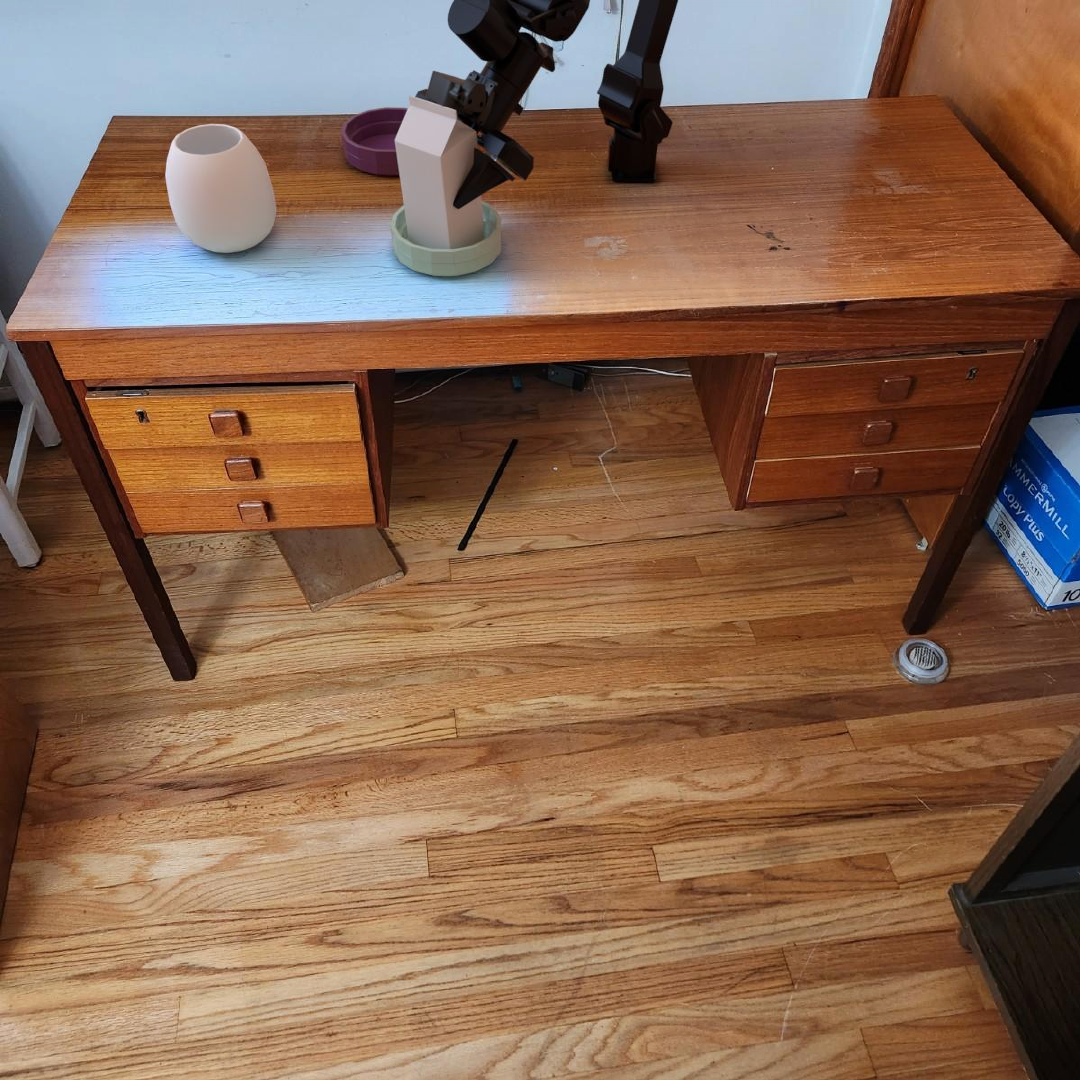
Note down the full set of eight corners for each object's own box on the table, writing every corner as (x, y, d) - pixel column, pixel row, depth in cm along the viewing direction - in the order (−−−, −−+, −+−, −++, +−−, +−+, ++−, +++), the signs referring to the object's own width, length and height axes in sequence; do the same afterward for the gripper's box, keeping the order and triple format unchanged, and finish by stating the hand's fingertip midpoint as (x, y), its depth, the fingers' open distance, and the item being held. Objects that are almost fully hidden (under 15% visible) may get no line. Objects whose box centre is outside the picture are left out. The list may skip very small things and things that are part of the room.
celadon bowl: (502, 222, 132) (502, 195, 129) (499, 280, 123) (499, 252, 120) (399, 220, 132) (397, 193, 129) (388, 278, 123) (385, 250, 120)
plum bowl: (443, 133, 149) (441, 108, 147) (436, 178, 140) (434, 152, 137) (351, 132, 149) (348, 106, 146) (339, 176, 140) (335, 150, 137)
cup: (254, 271, 123) (231, 171, 113) (162, 254, 125) (131, 155, 115) (298, 220, 132) (281, 123, 122) (211, 205, 134) (187, 109, 124)
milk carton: (452, 267, 124) (436, 123, 109) (409, 250, 126) (389, 107, 112) (485, 241, 127) (474, 98, 113) (443, 225, 130) (427, 83, 115)
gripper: (417, 19, 115) (350, 134, 118) (515, 70, 106) (440, 194, 109) (471, 70, 125) (408, 176, 128) (566, 122, 115) (495, 235, 118)
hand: (435, 194), depth 120 cm, fingers closed on milk carton, 8 cm apart
